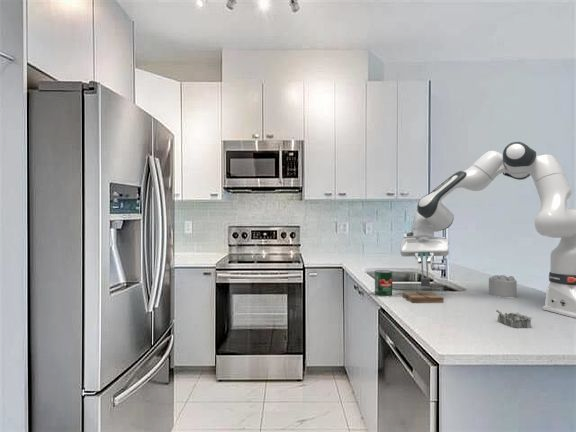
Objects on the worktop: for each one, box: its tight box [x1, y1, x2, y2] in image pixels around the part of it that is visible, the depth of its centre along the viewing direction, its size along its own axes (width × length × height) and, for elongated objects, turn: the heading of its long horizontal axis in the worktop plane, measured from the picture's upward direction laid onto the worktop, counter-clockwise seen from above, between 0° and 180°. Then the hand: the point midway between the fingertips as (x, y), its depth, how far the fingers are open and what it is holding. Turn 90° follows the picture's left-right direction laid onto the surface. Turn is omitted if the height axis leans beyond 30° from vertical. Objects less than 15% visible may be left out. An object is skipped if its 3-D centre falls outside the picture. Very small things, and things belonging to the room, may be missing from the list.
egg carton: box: [496, 309, 533, 329], centre depth 151 cm, size 11×8×4 cm
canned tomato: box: [374, 269, 393, 297], centre depth 202 cm, size 8×8×11 cm
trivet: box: [402, 291, 444, 304], centre depth 191 cm, size 13×13×2 cm
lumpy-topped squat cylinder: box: [488, 274, 518, 298], centre depth 203 cm, size 10×13×9 cm
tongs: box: [419, 253, 431, 287], centre depth 192 cm, size 3×4×14 cm
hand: (424, 262), depth 191 cm, fingers closed on tongs, 3 cm apart
